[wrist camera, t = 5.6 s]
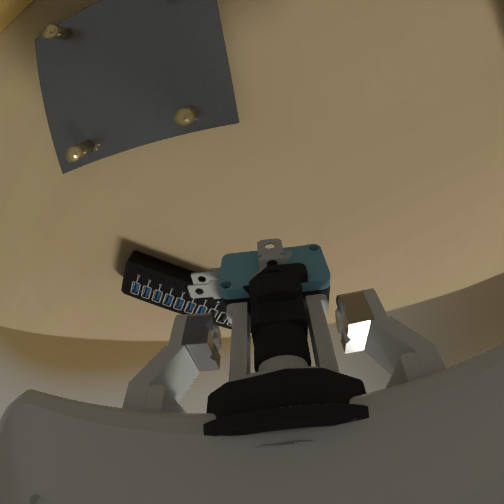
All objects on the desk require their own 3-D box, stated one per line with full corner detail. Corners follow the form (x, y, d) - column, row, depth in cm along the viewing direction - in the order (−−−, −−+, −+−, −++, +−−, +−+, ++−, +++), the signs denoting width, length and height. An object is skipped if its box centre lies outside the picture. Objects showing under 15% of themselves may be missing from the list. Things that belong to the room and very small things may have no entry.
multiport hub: (134, 247, 25) (126, 260, 23) (266, 293, 29) (268, 309, 27) (127, 278, 27) (120, 292, 26) (248, 319, 31) (249, 335, 29)
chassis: (210, -30, 12) (205, -48, 9) (239, 121, 19) (238, 126, 16) (41, 40, 12) (18, 39, 10) (68, 170, 20) (47, 183, 17)
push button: (205, 308, 15) (182, 487, 7) (180, 225, 12) (103, 449, 4) (323, 296, 15) (365, 476, 7) (325, 208, 12) (422, 434, 4)
